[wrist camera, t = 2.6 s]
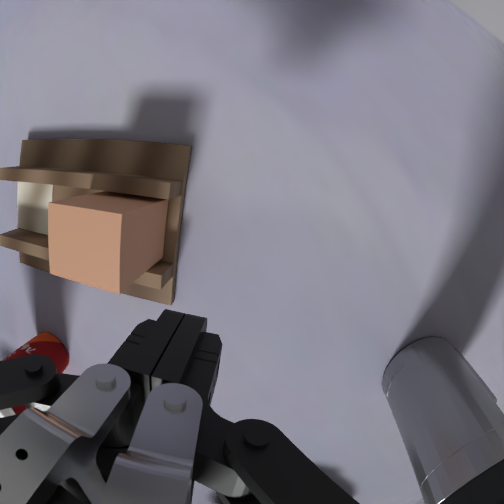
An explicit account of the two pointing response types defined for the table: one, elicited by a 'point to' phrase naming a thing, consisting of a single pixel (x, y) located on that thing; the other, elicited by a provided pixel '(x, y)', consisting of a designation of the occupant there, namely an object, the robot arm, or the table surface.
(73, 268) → the block
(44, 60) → the table surface
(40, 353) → the paper cup
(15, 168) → the chute
